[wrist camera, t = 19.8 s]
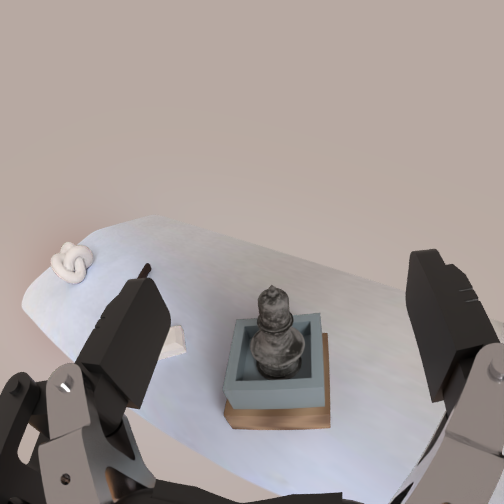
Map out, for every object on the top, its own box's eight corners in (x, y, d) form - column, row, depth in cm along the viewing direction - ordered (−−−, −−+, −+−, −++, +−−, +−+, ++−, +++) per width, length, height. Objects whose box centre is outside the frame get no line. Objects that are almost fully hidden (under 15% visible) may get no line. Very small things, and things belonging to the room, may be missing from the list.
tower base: (328, 353, 42) (327, 332, 40) (330, 429, 32) (330, 414, 30) (246, 357, 45) (238, 338, 42) (233, 430, 35) (223, 415, 32)
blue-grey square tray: (322, 336, 39) (320, 312, 37) (325, 406, 31) (323, 386, 28) (244, 342, 41) (236, 319, 39) (233, 409, 33) (222, 390, 31)
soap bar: (187, 353, 47) (181, 343, 46) (137, 367, 46) (129, 358, 45) (184, 332, 51) (178, 322, 50) (137, 346, 50) (130, 336, 49)
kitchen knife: (149, 269, 70) (145, 262, 69) (152, 269, 70) (149, 262, 69) (116, 326, 56) (111, 319, 54) (120, 327, 55) (115, 319, 54)
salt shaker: (251, 347, 37) (236, 270, 30) (298, 339, 37) (297, 260, 30) (256, 387, 32) (241, 314, 25) (309, 378, 32) (312, 302, 26)
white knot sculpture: (86, 288, 69) (70, 258, 64) (54, 293, 70) (37, 266, 66) (102, 261, 79) (88, 234, 74) (70, 268, 80) (56, 243, 75)
